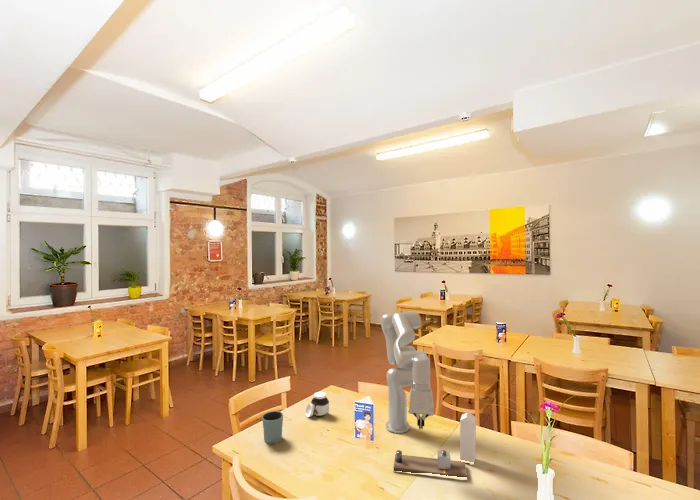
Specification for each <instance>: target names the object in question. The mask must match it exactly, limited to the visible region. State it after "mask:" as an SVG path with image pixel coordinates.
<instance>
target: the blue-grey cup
mask: <svg viewBox="0 0 700 500" xmlns="http://www.w3.org/2000/svg"><path fill="white" fill-rule="evenodd" d="M261 418H262V419H261V420H262V427H263V428H262V429H263V439H264V442H265V444H269V445H274V444H278V443H280V442H281V441H282V438H283V434H282V433H283V420H284V414H283V412H282V411H279V410H272V411H268V412H265V413H263V415H262V417H261Z"/></svg>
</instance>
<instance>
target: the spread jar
mask: <svg viewBox="0 0 700 500" xmlns="http://www.w3.org/2000/svg"><path fill="white" fill-rule="evenodd" d="M329 412H330V400H329V398H327V393H326V392H324V391H317V392H314V394H313V398H312V399H311V400H310V403H308V404H307V405H306V406H305V416H306V417H307V418H311V417H313V416H314V417H315V418H324V417H326V416H327V415H328V414H329Z"/></svg>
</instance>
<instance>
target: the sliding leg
mask: <svg viewBox="0 0 700 500" xmlns="http://www.w3.org/2000/svg"><path fill="white" fill-rule="evenodd" d="M437 459H438V469H447V470H450V460H451V453H450V451H449V450H444V449H443V450H439V449H438V450H437Z"/></svg>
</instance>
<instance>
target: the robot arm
mask: <svg viewBox="0 0 700 500" xmlns="http://www.w3.org/2000/svg"><path fill="white" fill-rule="evenodd" d="M421 324H422V319H421V316H420V314H419V313H418V312H416V311H402V312H397V313H395V312H391V313H385V314H383V315H382V316H381V319H380V325H381V330H382V333H383V335H384V339H385V344H386V345H385V346H386V354H387V361H388V363H389V364H390V365H391V366H392V365H393V366H396V365H397V367H391V368H390V369H388V370H387V372H386V381H387V392H388V395H387V397H388V398H387V399H388V421H387V422H386V423H385V429H386V430H387V431H389V432H390V433H393V432H394V434H404V432H405V433H407V432H409V431H410V429H411V428H410V427H411V426H410V424H409V423H408V420H407V405H408V414H411V415H414V417H415V418H416V419H417V422H416V423H417V426H418V429H419V430H420V429H422V430H424V429H423V428H424V427H425V420H426V419H427V418H428V417H431V416H434V414H435V413H434V400H433V399H434V397H433V396H434V395H433V389H432V387H431V359H430V358H429V357H428V355H427V353H426V352H425V351H424V350H417V349H416V348H415V347H414V346H412V345H409V344H411V343H412V342H414V340H415V337H416V334H415V331H414V329H419V328H420V327H421ZM403 387H410V390H409V396H407V393H406V391H405V390H404V389H403ZM407 397H408V398H409V399H407ZM407 401H408V404H407ZM409 428H410V429H409Z"/></svg>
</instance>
